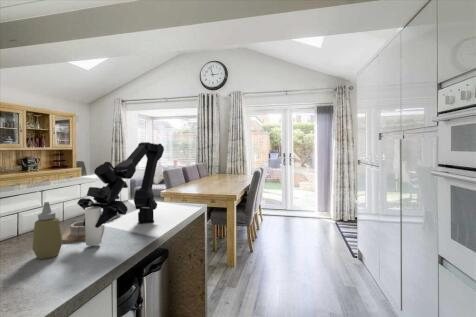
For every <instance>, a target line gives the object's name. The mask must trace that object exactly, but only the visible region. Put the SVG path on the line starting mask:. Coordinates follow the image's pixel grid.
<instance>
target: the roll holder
mask: <svg viewBox="0 0 476 317" xmlns="http://www.w3.org/2000/svg"><path fill="white" fill-rule="evenodd" d="M83 223H84V220H81V221H75V222H73V223H71V224H70V226H69V228H67V229H66V230H65V232H64V233H63V235H61V236H62V244H65V243H67V244H68V243H75V242H83V241H86V233H85V226H83ZM104 230H105V224H102V225H101V239H102V238H103V235H104Z"/></svg>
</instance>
